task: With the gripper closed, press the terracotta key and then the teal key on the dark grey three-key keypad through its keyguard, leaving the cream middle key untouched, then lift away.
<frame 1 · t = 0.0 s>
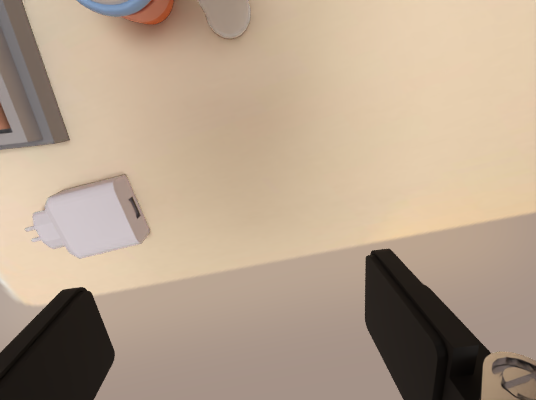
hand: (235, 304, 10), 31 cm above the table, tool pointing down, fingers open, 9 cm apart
charger: (91, 214, 41), on the table
bottle: (229, 16, 34), on the table
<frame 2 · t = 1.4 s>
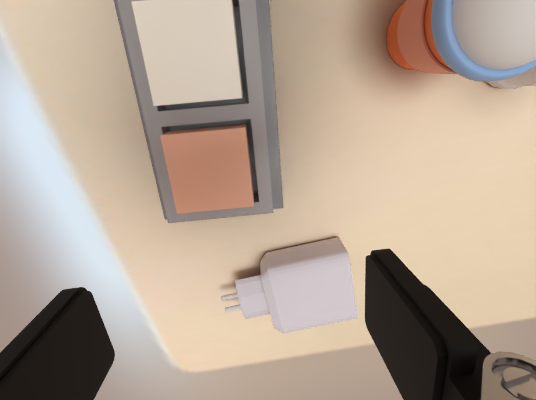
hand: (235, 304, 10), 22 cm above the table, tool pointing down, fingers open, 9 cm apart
charger: (283, 277, 36), on the table
terracotta key: (212, 168, 24), point 6 cm above the table, slide at 0.0 cm
cream key: (194, 55, 21), point 6 cm above the table, slide at 0.0 cm
bottle: (503, 61, 28), on the table
keypad: (206, 64, 26), on the table
cup with straw: (416, 34, 27), on the table
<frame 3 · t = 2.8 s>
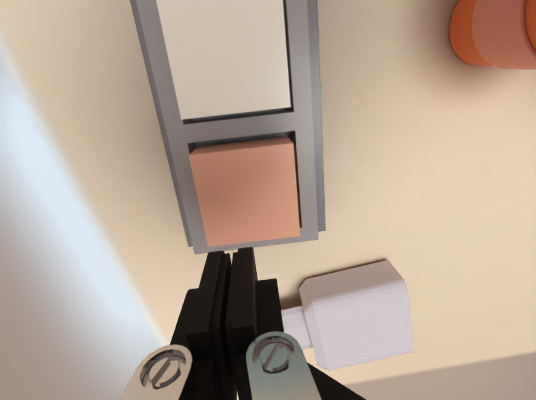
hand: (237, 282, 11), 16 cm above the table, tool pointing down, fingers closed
charger: (322, 304, 32), on the table
terracotta key: (248, 190, 20), point 6 cm above the table, slide at 0.0 cm
cream key: (229, 55, 17), point 6 cm above the table, slide at 0.0 cm
keypad: (235, 65, 22), on the table
cup with straw: (484, 23, 22), on the table
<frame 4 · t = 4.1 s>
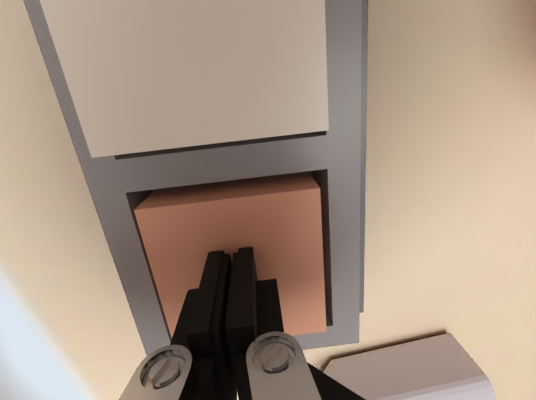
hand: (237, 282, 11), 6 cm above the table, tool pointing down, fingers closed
charger: (353, 387, 23), on the table
terracotta key: (241, 256, 12), point 5 cm above the table, slide at 1.4 cm, touching gripper
cream key: (197, 20, 8), point 6 cm above the table, slide at 0.0 cm
keypad: (220, 52, 14), on the table
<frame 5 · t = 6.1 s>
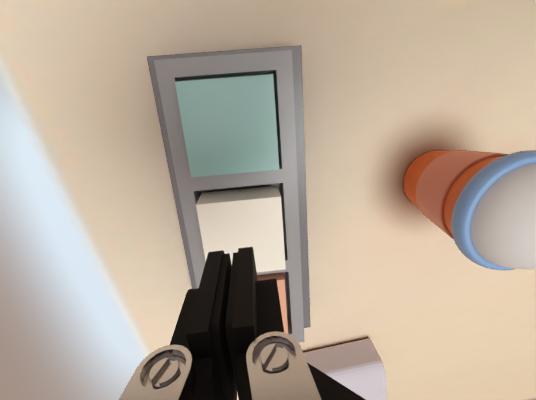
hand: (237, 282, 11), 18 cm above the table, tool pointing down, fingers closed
charger: (316, 370, 38), on the table
terracotta key: (252, 301, 28), point 4 cm above the table, slide at 1.6 cm, touching keypad
cream key: (243, 230, 24), point 6 cm above the table, slide at 0.0 cm
keypad: (243, 205, 29), on the table
cup with straw: (429, 178, 30), on the table
teal key: (231, 126, 21), point 6 cm above the table, slide at 0.0 cm
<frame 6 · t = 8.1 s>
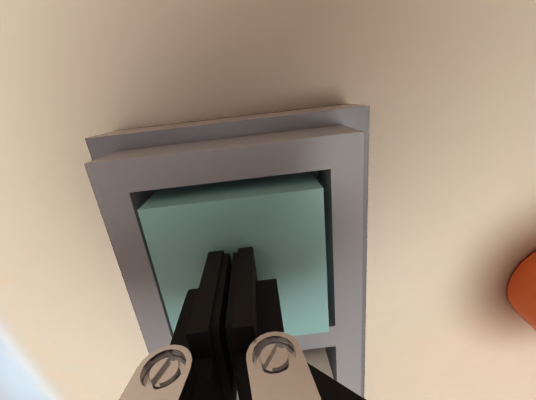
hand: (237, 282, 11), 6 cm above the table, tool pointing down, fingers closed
keypad: (263, 326, 19), on the table
teal key: (244, 256, 12), point 5 cm above the table, slide at 1.4 cm, touching gripper
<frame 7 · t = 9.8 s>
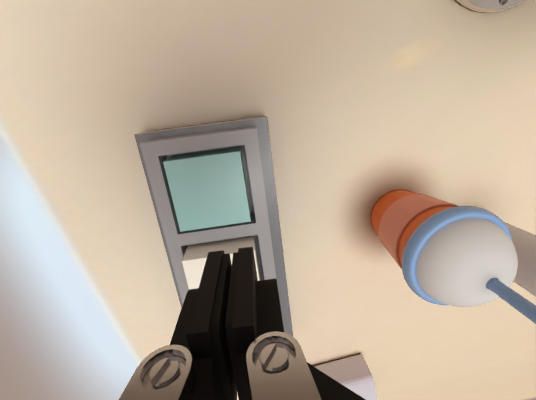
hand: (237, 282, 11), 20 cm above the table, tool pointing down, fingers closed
charger: (315, 384, 42), on the table
cream key: (225, 276, 27), point 6 cm above the table, slide at 0.0 cm
bottle: (464, 225, 35), on the table
keypad: (228, 246, 33), on the table
cup with straw: (394, 213, 33), on the table
teal key: (210, 188, 26), point 4 cm above the table, slide at 1.6 cm, touching keypad
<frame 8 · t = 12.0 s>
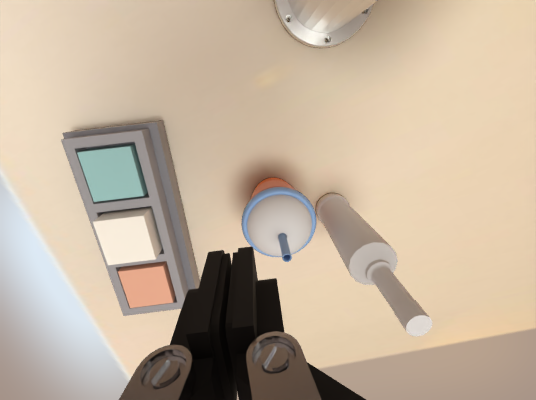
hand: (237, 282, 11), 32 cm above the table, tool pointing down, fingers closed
terracotta key: (149, 281, 42), point 4 cm above the table, slide at 1.6 cm, touching keypad
cream key: (129, 235, 38), point 6 cm above the table, slide at 0.0 cm
bottle: (330, 206, 45), on the table
keypad: (145, 217, 44), on the table
cup with straw: (272, 195, 44), on the table
teal key: (116, 172, 37), point 4 cm above the table, slide at 1.6 cm, touching keypad
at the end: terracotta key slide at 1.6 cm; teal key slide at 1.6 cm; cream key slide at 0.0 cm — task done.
